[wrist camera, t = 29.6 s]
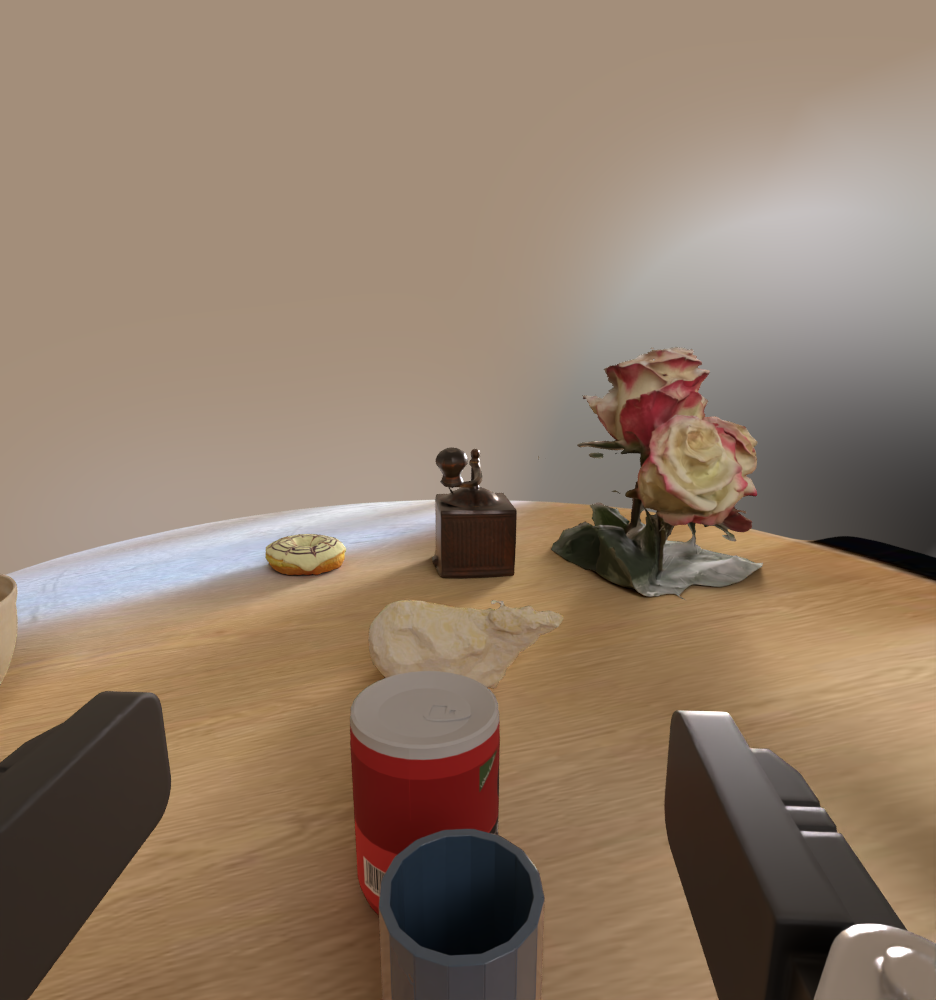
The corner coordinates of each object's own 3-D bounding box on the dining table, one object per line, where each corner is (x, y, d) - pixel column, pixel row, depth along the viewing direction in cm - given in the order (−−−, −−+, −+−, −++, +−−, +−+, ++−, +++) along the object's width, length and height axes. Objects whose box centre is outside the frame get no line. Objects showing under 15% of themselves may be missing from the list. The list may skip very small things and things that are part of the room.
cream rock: (338, 708, 57) (397, 664, 45) (346, 630, 60) (402, 571, 49) (489, 724, 62) (575, 688, 51) (487, 652, 66) (567, 603, 55)
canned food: (509, 927, 33) (512, 740, 30) (354, 946, 32) (344, 754, 29) (486, 821, 40) (487, 664, 38) (360, 834, 39) (352, 673, 37)
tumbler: (565, 1086, 26) (574, 882, 23) (469, 1236, 21) (468, 1004, 19) (457, 990, 30) (456, 807, 27) (356, 1101, 25) (345, 894, 23)
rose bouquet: (668, 614, 72) (689, 345, 65) (533, 545, 98) (538, 347, 91) (816, 579, 83) (847, 346, 76) (660, 526, 109) (673, 348, 102)
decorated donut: (316, 583, 82) (315, 556, 81) (250, 573, 86) (248, 546, 85) (359, 559, 91) (357, 534, 90) (297, 551, 95) (296, 527, 94)
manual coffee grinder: (430, 555, 93) (428, 434, 89) (503, 552, 95) (504, 433, 91) (437, 593, 78) (435, 451, 74) (524, 589, 80) (527, 449, 76)
